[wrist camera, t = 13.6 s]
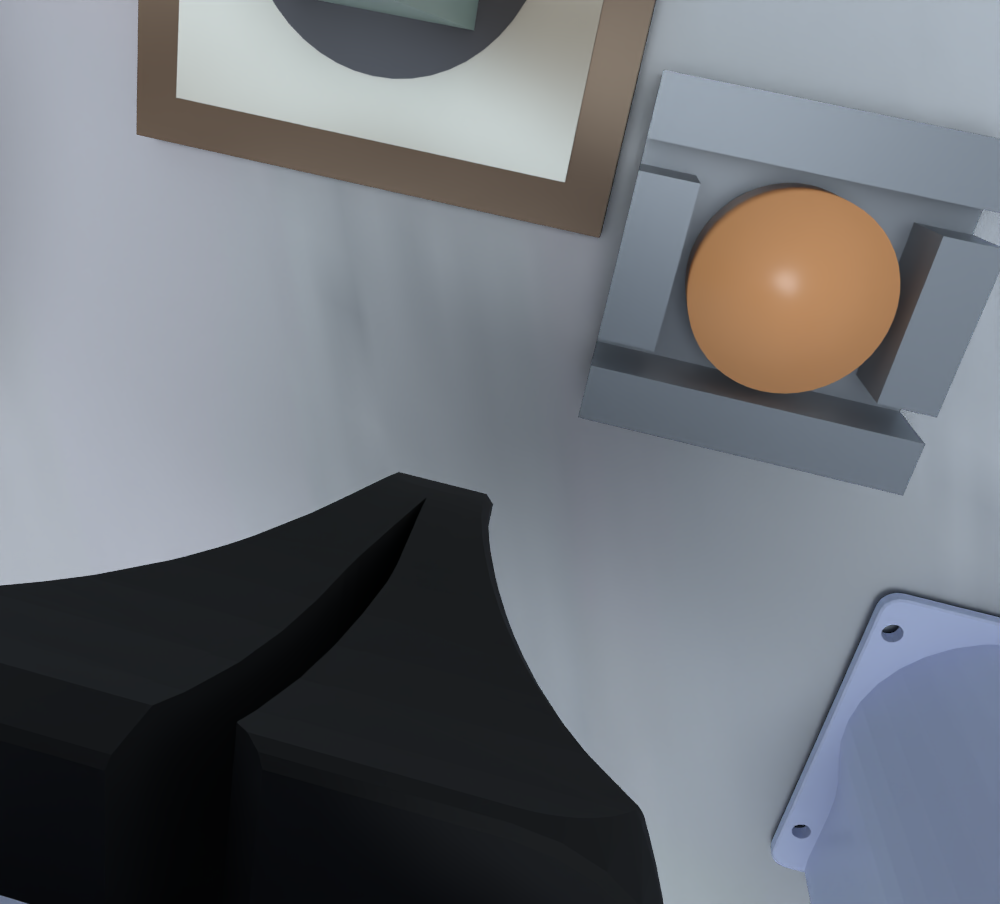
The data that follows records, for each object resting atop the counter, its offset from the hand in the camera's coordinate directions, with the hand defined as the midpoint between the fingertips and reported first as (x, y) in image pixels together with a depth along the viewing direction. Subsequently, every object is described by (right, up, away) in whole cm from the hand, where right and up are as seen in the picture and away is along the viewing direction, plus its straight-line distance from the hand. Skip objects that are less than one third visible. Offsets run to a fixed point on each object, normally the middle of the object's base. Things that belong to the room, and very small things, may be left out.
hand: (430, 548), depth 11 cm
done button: (+7, +5, +7) cm, 11 cm away
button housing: (+7, +5, +8) cm, 12 cm away
